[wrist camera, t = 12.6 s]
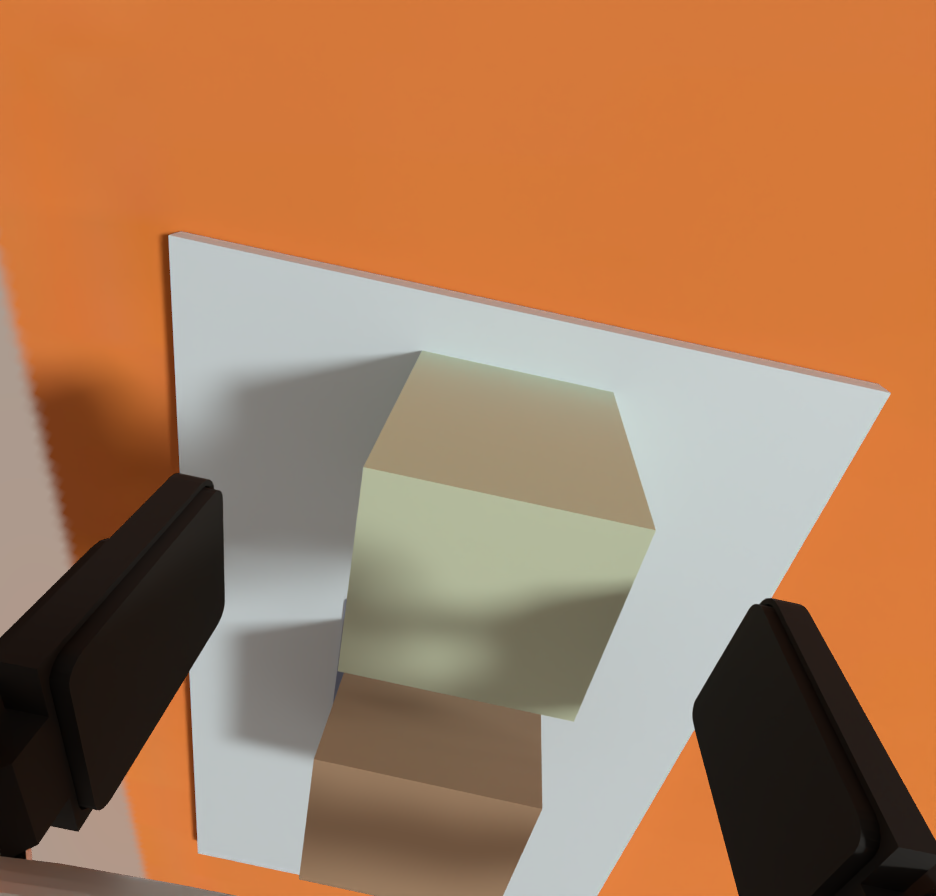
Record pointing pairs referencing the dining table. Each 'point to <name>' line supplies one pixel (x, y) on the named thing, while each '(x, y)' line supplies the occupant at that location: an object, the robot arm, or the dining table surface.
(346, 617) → the sage block
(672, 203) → the dining table surface
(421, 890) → the walnut block
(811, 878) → the robot arm
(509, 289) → the dining table surface
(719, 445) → the board
